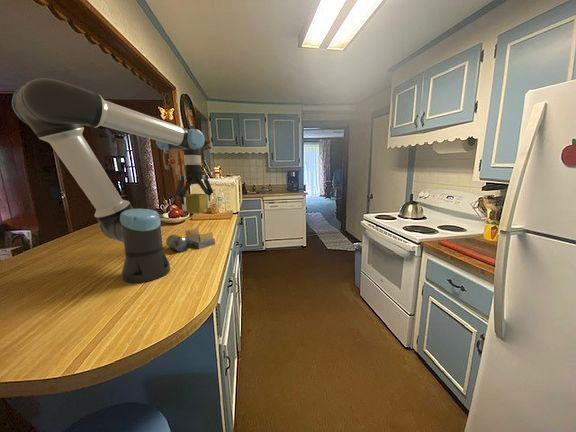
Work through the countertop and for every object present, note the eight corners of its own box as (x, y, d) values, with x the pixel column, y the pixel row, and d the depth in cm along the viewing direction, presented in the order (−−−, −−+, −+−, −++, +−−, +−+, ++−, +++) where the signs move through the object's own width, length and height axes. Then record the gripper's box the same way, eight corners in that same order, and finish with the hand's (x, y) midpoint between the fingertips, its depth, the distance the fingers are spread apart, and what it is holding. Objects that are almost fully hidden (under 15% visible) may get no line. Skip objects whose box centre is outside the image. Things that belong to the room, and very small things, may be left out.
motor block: (215, 244, 119) (214, 232, 118) (179, 254, 105) (177, 240, 104) (200, 239, 128) (199, 227, 127) (165, 248, 114) (163, 235, 113)
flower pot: (193, 210, 122) (191, 193, 120) (208, 211, 121) (207, 193, 119) (183, 213, 113) (181, 195, 112) (200, 214, 112) (199, 195, 111)
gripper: (210, 164, 124) (212, 205, 128) (163, 164, 106) (168, 211, 110) (218, 164, 119) (221, 206, 124) (171, 164, 101) (176, 213, 105)
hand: (196, 209), depth 117 cm, fingers closed on flower pot, 11 cm apart
